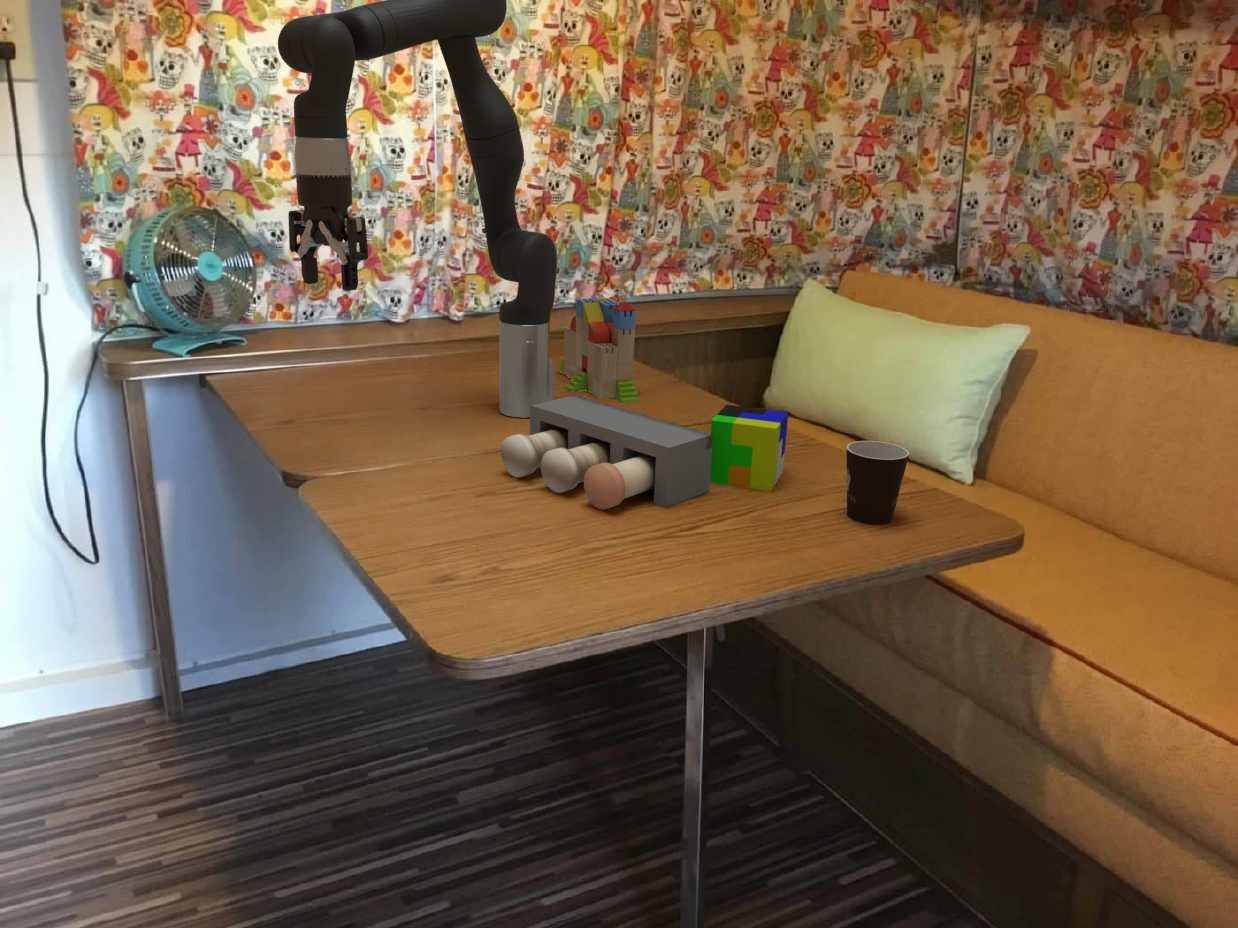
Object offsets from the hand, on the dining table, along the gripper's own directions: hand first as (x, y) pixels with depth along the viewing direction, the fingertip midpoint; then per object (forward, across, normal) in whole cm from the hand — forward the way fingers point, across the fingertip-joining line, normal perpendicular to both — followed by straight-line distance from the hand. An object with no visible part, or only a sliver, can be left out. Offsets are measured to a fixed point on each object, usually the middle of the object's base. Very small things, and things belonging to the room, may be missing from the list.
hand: (330, 286), depth 149 cm
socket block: (+28, -34, -25) cm, 51 cm away
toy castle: (+29, +1, -69) cm, 75 cm away
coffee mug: (+28, -72, -36) cm, 86 cm away
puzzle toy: (+28, -50, -38) cm, 69 cm away
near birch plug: (+28, -24, -19) cm, 41 cm away
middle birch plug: (+28, -33, -17) cm, 47 cm away
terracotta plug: (+28, -42, -16) cm, 53 cm away
